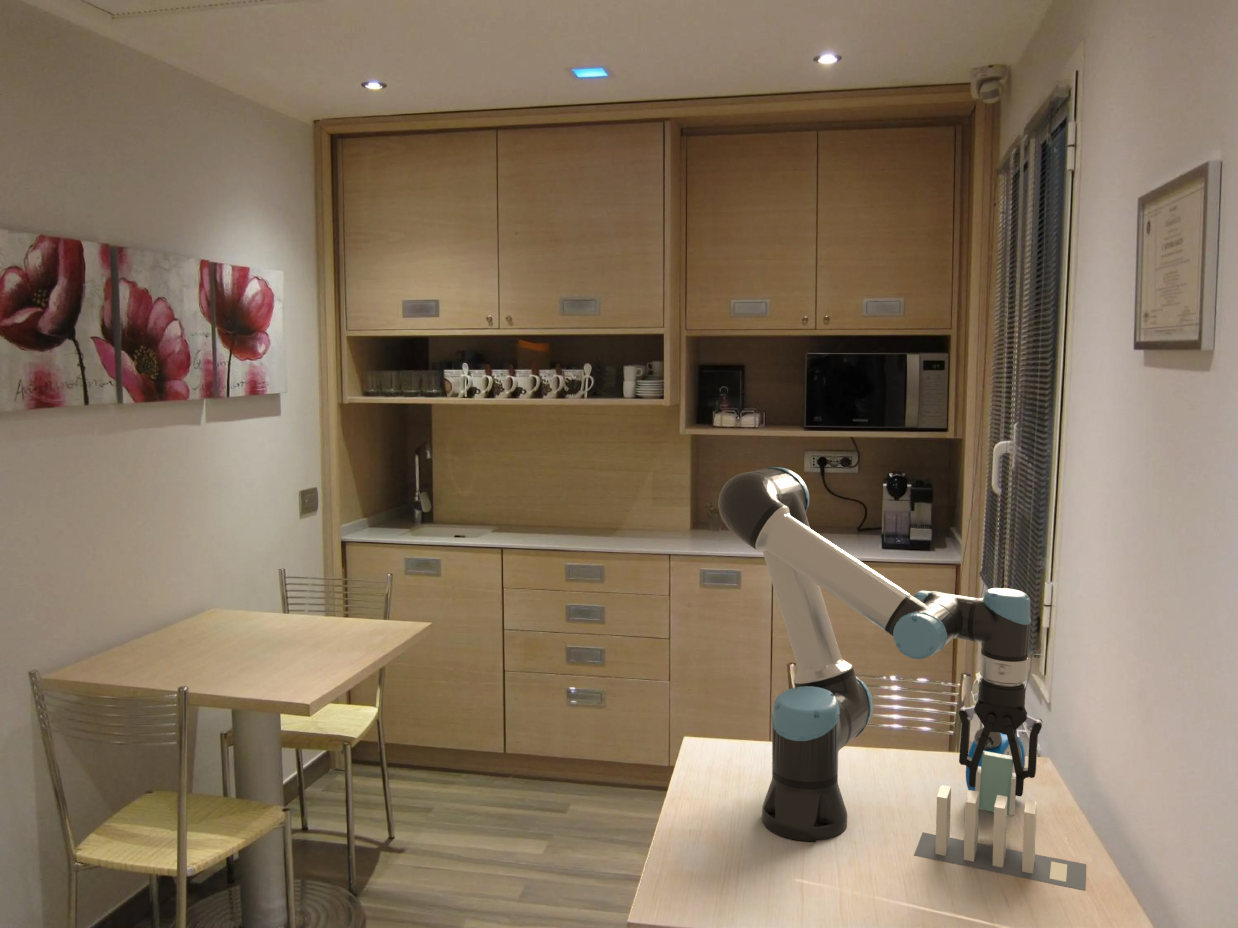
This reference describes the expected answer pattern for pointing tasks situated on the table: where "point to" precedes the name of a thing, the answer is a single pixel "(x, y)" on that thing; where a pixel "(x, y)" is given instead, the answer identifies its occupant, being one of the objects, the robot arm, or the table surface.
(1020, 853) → the mat
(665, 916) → the table surface
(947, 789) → the domino
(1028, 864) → the domino
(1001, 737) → the alarm clock
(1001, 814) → the domino
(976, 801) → the domino
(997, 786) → the domino
